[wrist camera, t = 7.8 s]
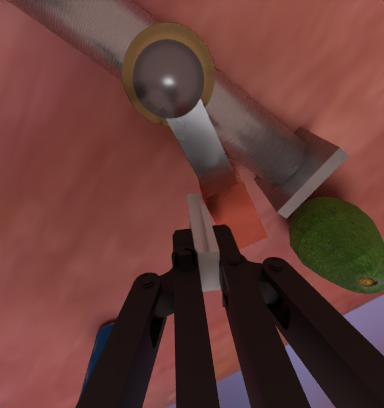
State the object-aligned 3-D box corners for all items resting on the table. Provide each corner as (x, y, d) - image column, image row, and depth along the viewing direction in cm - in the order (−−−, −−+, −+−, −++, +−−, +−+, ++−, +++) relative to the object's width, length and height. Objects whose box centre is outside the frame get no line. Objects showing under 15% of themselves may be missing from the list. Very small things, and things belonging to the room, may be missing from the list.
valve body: (-25, -12, 19) (-118, -47, 13) (3, -126, 16) (-97, -236, 10) (264, 187, 29) (289, 220, 23) (310, 135, 26) (352, 158, 20)
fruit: (324, 169, 28) (413, 232, 18) (351, 214, 32) (439, 289, 21) (264, 210, 30) (312, 288, 20) (295, 248, 34) (351, 331, 23)
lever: (124, 63, 16) (112, 64, 12) (182, 27, 15) (184, 19, 12) (217, 227, 22) (224, 255, 19) (260, 208, 21) (275, 233, 18)
